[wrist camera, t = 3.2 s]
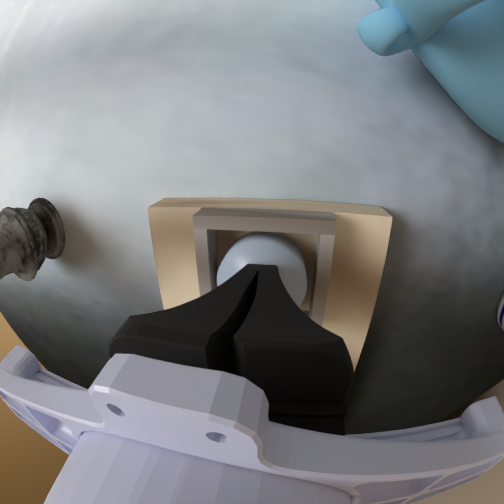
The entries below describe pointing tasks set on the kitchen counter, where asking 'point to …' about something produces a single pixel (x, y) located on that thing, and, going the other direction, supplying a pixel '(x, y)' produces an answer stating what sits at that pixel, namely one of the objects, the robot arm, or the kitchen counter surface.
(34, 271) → the grey chess piece
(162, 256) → the button panel
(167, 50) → the kitchen counter surface
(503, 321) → the energy drink
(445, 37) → the decorative pot
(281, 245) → the blue button
